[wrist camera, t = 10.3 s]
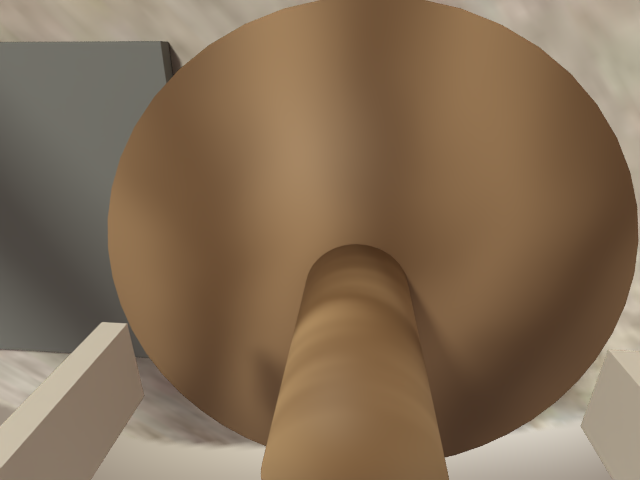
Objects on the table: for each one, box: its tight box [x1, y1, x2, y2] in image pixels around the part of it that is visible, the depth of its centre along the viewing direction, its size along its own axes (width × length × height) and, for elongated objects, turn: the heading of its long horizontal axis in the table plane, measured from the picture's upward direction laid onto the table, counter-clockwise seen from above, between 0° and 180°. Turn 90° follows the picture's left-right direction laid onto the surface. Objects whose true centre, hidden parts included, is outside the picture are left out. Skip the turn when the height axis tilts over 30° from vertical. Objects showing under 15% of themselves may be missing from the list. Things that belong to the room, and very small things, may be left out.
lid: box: [108, 0, 638, 480], centre depth 13 cm, size 20×20×9 cm
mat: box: [0, 41, 173, 358], centre depth 28 cm, size 22×22×1 cm
